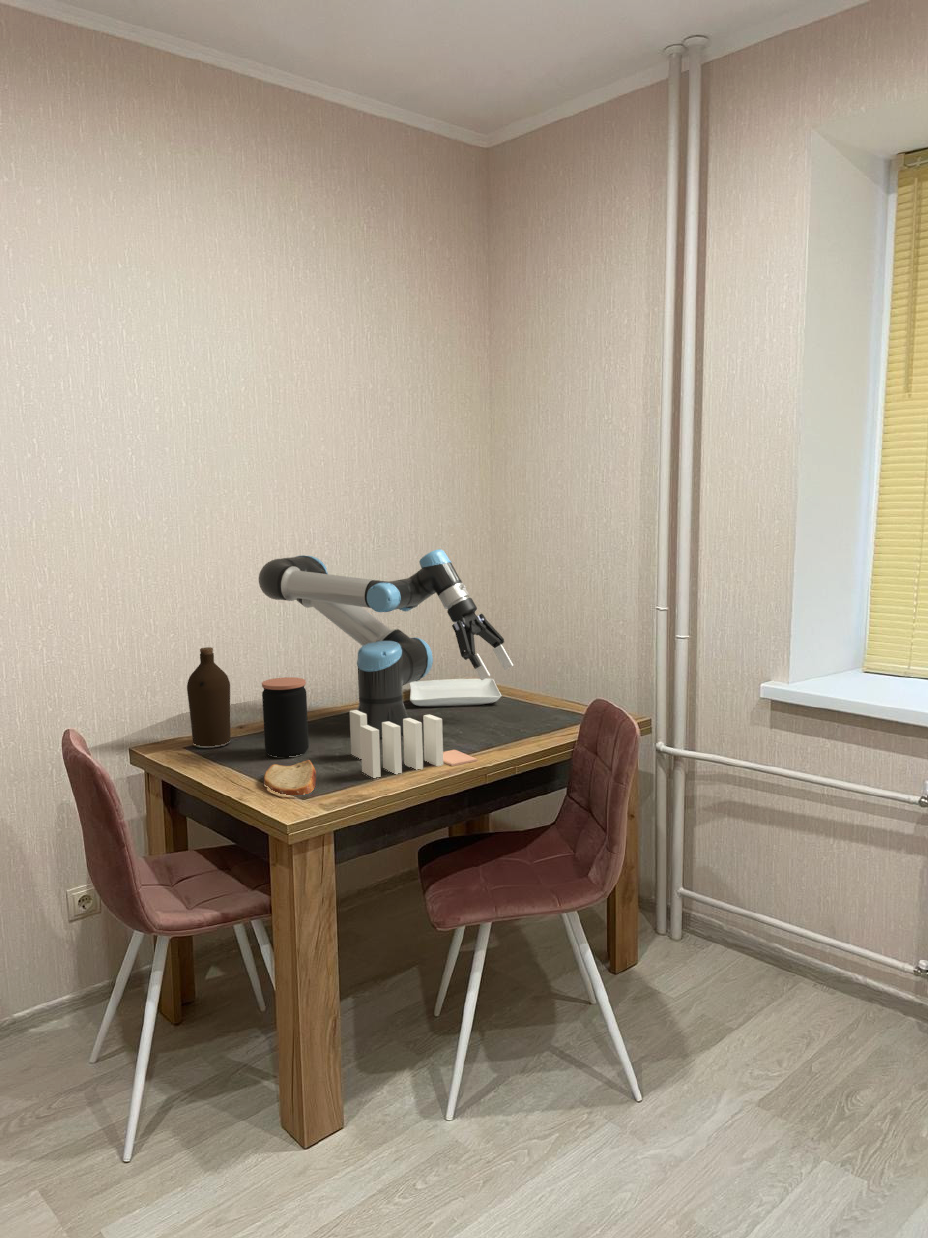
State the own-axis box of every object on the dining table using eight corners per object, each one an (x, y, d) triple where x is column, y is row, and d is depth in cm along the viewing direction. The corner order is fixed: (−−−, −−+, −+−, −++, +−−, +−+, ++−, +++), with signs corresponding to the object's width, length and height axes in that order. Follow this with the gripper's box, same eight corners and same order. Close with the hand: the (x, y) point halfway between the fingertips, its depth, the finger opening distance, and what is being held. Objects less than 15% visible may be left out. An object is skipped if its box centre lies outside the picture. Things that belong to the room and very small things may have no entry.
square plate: (493, 688, 304) (493, 676, 303) (502, 708, 277) (502, 695, 276) (409, 691, 302) (409, 679, 301) (410, 711, 275) (409, 698, 274)
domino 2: (373, 779, 210) (371, 731, 208) (362, 773, 215) (360, 726, 213) (380, 777, 211) (379, 730, 209) (369, 771, 216) (367, 724, 214)
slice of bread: (301, 802, 196) (300, 785, 196) (236, 790, 205) (235, 773, 205) (352, 778, 212) (351, 762, 211) (290, 768, 221) (289, 752, 220)
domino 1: (361, 760, 225) (359, 715, 223) (351, 755, 229) (349, 711, 228) (368, 759, 226) (366, 714, 224) (357, 753, 230) (356, 709, 229)
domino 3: (395, 774, 213) (393, 727, 211) (383, 768, 218) (381, 722, 216) (401, 773, 214) (400, 726, 212) (390, 767, 218) (388, 721, 217)
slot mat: (452, 766, 218) (452, 764, 218) (430, 756, 227) (430, 754, 227) (477, 761, 222) (477, 759, 222) (454, 751, 230) (454, 749, 230)
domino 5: (436, 766, 219) (435, 720, 217) (424, 760, 223) (423, 715, 222) (443, 765, 220) (442, 719, 218) (431, 759, 224) (429, 714, 223)
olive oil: (237, 746, 240) (232, 649, 236) (195, 752, 235) (189, 653, 231) (227, 736, 249) (222, 643, 245) (186, 742, 244) (180, 647, 241)
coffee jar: (317, 750, 234) (314, 679, 232) (289, 761, 225) (285, 687, 223) (285, 745, 240) (281, 675, 237) (255, 755, 230) (252, 683, 228)
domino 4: (416, 770, 216) (414, 723, 214) (404, 764, 220) (403, 719, 219) (423, 769, 217) (421, 722, 215) (411, 763, 221) (409, 717, 220)
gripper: (445, 602, 238) (486, 675, 236) (490, 590, 260) (528, 657, 257) (424, 617, 242) (464, 689, 239) (470, 604, 263) (508, 670, 261)
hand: (497, 672), depth 248 cm, fingers open, 13 cm apart
